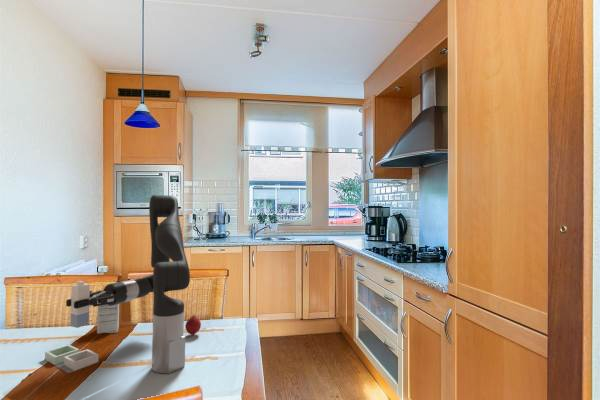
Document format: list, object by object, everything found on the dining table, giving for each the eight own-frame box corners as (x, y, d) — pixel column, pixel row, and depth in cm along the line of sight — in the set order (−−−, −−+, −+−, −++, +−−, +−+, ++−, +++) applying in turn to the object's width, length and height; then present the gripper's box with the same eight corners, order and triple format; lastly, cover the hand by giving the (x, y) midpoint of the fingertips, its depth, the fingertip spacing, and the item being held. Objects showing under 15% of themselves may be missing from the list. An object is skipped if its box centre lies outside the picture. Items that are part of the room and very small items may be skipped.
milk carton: (88, 324, 108) (89, 281, 108) (77, 327, 104) (78, 283, 105) (82, 322, 109) (83, 279, 109) (70, 325, 106) (71, 281, 106)
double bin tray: (99, 363, 107) (99, 354, 107) (68, 375, 99) (68, 365, 99) (73, 351, 116) (74, 342, 116) (44, 361, 108) (44, 351, 108)
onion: (195, 338, 128) (196, 317, 128) (182, 337, 129) (182, 316, 130) (203, 333, 134) (203, 313, 134) (190, 331, 135) (190, 312, 135)
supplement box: (98, 329, 137) (99, 298, 137) (119, 326, 140) (119, 296, 140) (96, 335, 130) (97, 303, 130) (117, 332, 133) (118, 301, 134)
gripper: (109, 279, 123) (58, 289, 108) (134, 284, 117) (84, 295, 101) (109, 299, 123) (57, 312, 107) (134, 305, 116) (83, 320, 101)
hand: (70, 304), depth 104 cm, fingers closed on milk carton, 3 cm apart
